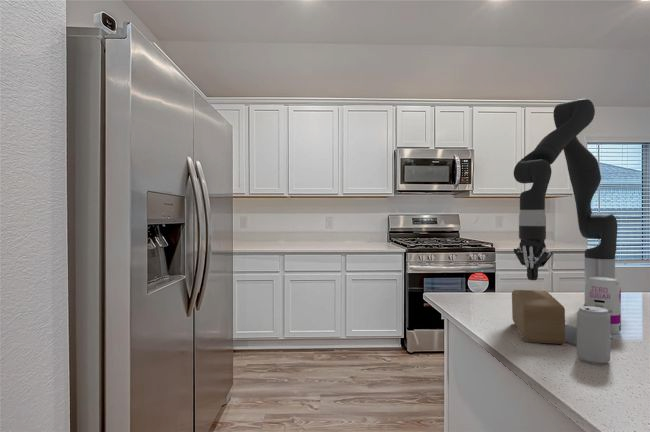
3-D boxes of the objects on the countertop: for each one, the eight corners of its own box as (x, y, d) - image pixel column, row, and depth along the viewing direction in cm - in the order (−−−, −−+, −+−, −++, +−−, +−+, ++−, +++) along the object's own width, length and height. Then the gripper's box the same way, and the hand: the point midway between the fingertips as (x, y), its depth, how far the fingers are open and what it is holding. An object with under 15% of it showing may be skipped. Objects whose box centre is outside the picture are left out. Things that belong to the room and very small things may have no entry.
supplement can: (614, 328, 118) (614, 277, 118) (625, 336, 111) (625, 281, 111) (582, 325, 121) (582, 275, 121) (590, 333, 113) (590, 280, 113)
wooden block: (548, 323, 122) (566, 345, 103) (512, 321, 125) (523, 342, 106) (547, 290, 122) (565, 306, 103) (511, 289, 125) (522, 304, 106)
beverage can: (570, 356, 96) (570, 305, 96) (596, 355, 96) (596, 304, 96) (590, 366, 90) (590, 312, 89) (617, 365, 90) (617, 311, 90)
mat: (553, 322, 125) (553, 321, 125) (612, 339, 109) (612, 337, 109) (518, 326, 120) (518, 325, 120) (575, 345, 104) (575, 344, 104)
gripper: (560, 224, 122) (560, 282, 122) (523, 223, 134) (523, 276, 134) (541, 225, 119) (542, 284, 119) (506, 224, 131) (506, 277, 131)
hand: (532, 279), depth 127 cm, fingers closed
